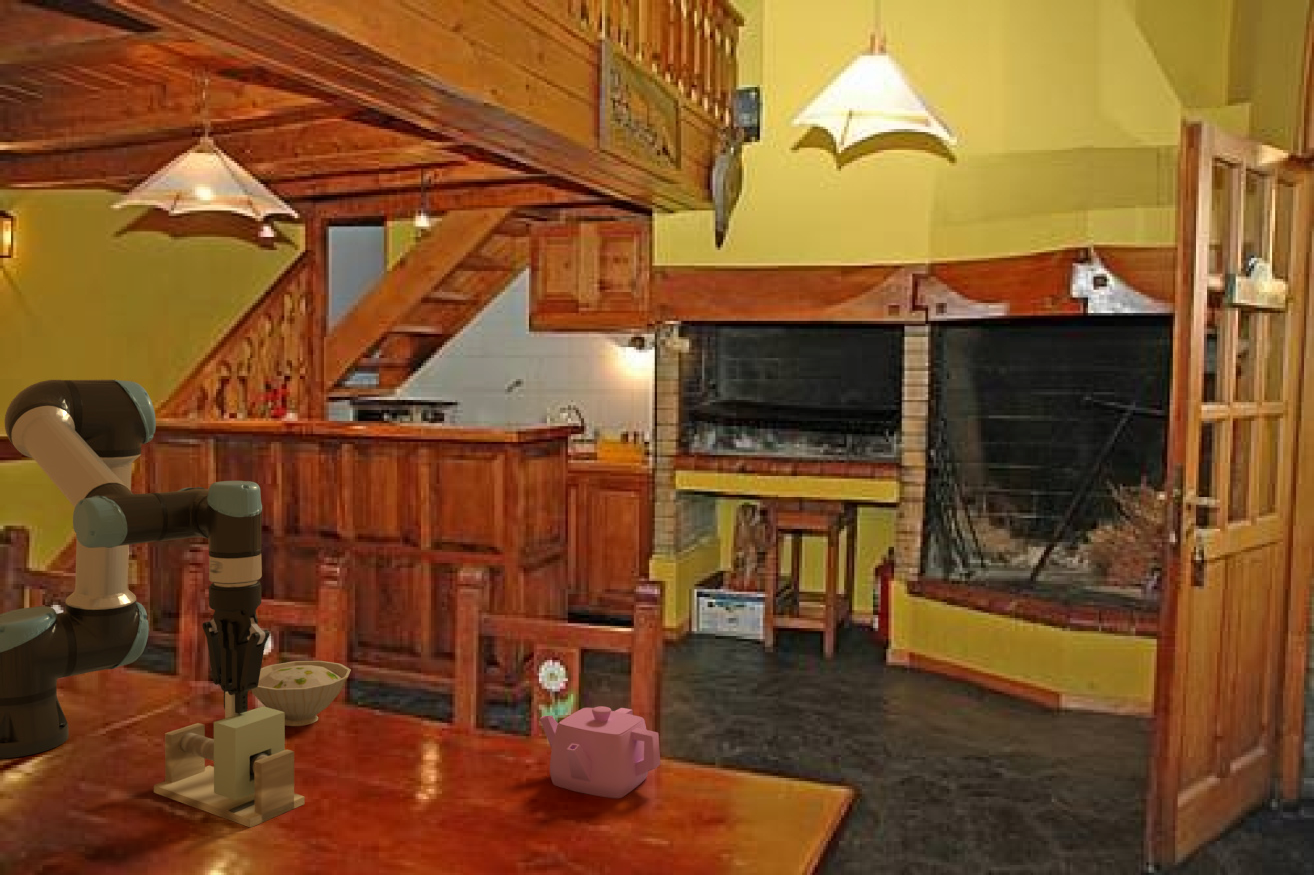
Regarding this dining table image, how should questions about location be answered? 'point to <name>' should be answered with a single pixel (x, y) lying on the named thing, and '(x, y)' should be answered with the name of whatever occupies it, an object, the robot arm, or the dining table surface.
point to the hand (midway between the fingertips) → (235, 731)
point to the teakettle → (601, 751)
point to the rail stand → (196, 781)
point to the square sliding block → (244, 748)
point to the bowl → (300, 688)
